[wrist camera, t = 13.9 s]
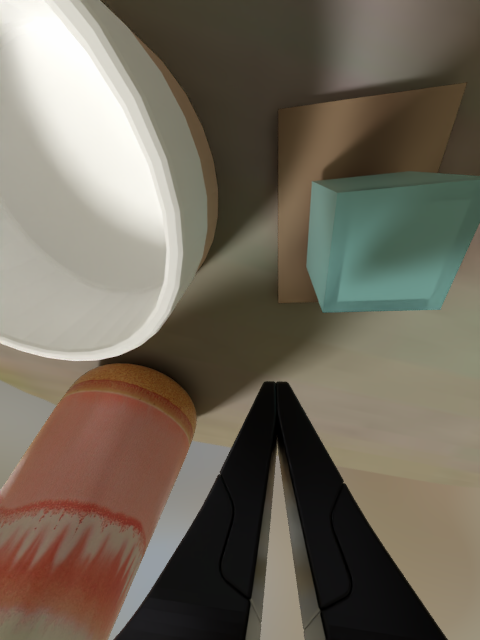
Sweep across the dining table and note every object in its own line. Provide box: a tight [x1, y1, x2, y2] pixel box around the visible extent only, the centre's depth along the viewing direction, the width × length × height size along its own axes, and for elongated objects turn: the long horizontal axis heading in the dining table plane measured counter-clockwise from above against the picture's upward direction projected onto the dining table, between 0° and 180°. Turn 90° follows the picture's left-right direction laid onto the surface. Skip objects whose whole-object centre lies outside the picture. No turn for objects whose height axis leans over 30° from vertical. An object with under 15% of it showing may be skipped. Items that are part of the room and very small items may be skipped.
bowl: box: [0, 0, 218, 361], centre depth 13 cm, size 17×17×8 cm
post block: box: [278, 82, 467, 303], centre depth 13 cm, size 9×12×7 cm
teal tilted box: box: [306, 171, 480, 313], centre depth 12 cm, size 5×5×6 cm
